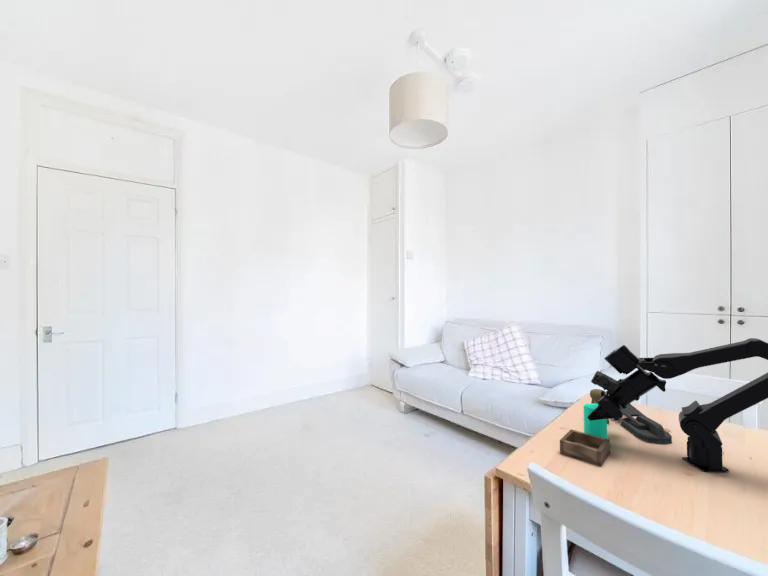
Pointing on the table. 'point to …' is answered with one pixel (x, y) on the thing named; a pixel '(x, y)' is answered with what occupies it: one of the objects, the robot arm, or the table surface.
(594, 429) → the candle
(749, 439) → the table surface
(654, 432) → the zipper pull
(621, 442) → the table surface
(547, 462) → the table surface
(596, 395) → the cork
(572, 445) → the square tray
